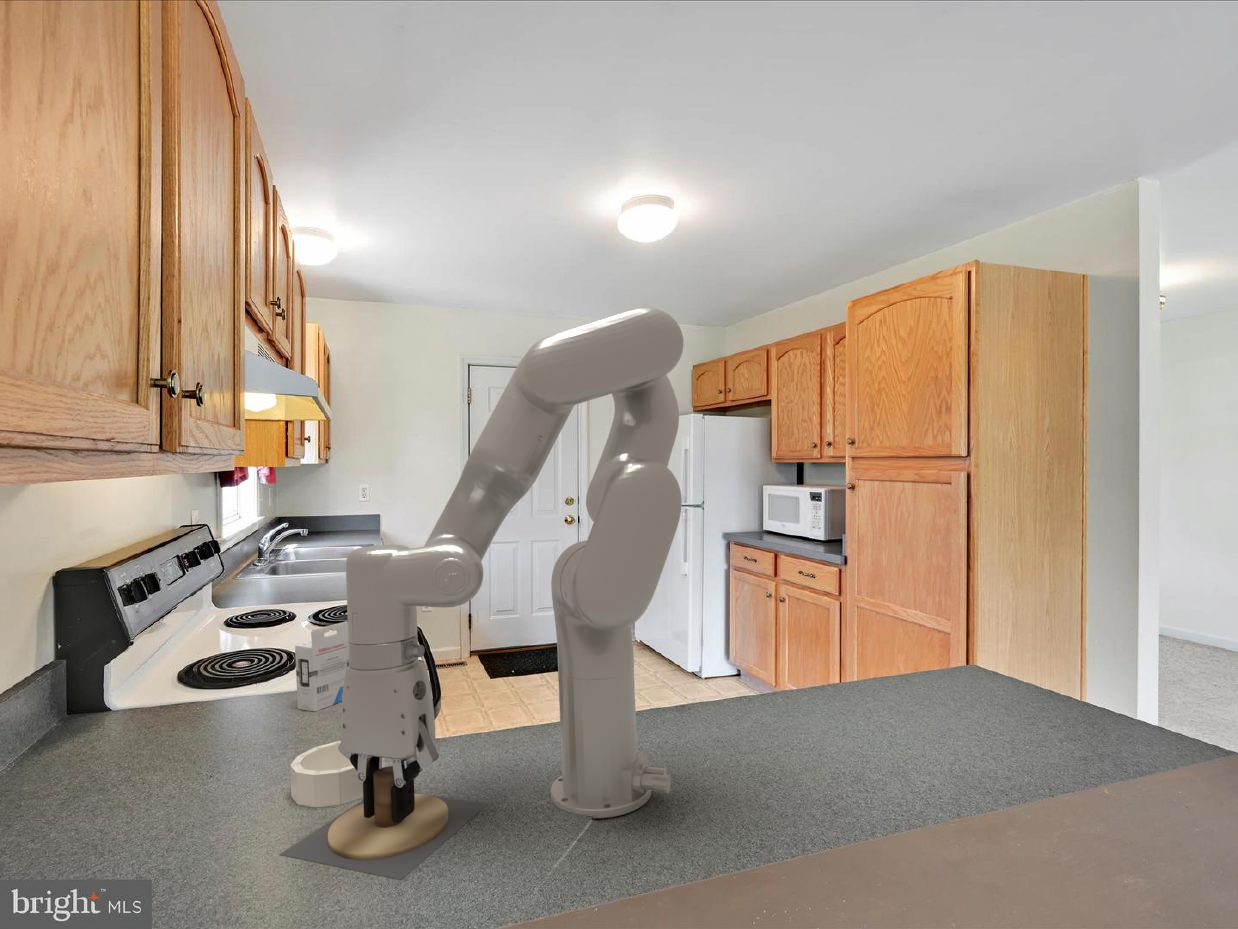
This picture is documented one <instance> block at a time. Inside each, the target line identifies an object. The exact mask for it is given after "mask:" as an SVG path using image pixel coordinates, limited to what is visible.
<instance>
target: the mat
mask: <svg viewBox="0 0 1238 929" xmlns="http://www.w3.org/2000/svg"><path fill="white" fill-rule="evenodd" d="M414 794H420V793H419V792H418V793H417V792H414ZM424 794H425V793H424ZM425 795H427V794H425ZM429 795H430V796H434V797H436V798H439V799H441V800H442V801H443V802H444V803H446V805H447V807H448V815H449V818H448V823H447V825H446V827H445V829H444V830H443V831H442V832H441V833H440V834H439V835H438V836H437V837H435V838H434V839H433V840H431V841H430V842H428V843H427V844H425V845H423V846H421V847H419V848H416V849H414V850H412V851H409V852H406V853H403V854H400V855H396V856H392V857H388V858H382V859H373V860H355V859H348V858H344V857H341V856H339V855H337V854H335V853H334V852H333V851H332V850H331V849H330V848H329V845H328V831H329V828H330V827H331V825H332V824H333V823H334V821H335V820H336V819H338V818H339V817H340V816H341V815H343V814H344V813H346V812H347V811H349V810H351V809H353V808H354V807H356V806H359V805H361V804H363V799H361V800H360V801H359V802H358V803H356V804H354V805H353V806H351V807H350V808H348V809H347V810H345V811H344V812H342V813H340V814H339V815H337V816H336V817H334V818H333V819H331V820H330V821H328V822H327V823H325V824H324V825H322V826H320V827H319V828H318V829H316V830H314V831H312V832H311V833H310V834H308V835H307V836H305V837H304V838H302V839H301V840H299V841H298V842H296V843H294V844H292V845H291V846H290V847H289V848H287V849H285V850H284V851H282V852H281V853H279V854H278V856H283V857H287V858H291V859H296V860H301V861H305V862H311V863H316V864H320V865H324V866H331V867H336V868H339V869H345V870H349V871H355V872H359V873H365V874H369V875H374V876H378V877H382V878H383V877H384V878H388V879H393V880H397V881H398V880H399V881H403V880H404V879H405V878H406V877H407V876H408V875H410V873H412V871H413V872H414V870H415V869H416V868H417V867H418V866H419V865H420V864H421V863H423V862H424V861H425V860H426V859H427V858H428V857H430V856H431V855H432V854H434V852H436V850H438V849H439V848H440V847H441V846H442V845H444V843H445V842H447V841H448V840H449V839H450V838H452V837H453V836H454V835H455V834H456V833H457V832H458V831H459V830H461V829H462V828H463V827H465V825H467V824H468V822H470V821H471V820H472V819H473V818H474V817H475V816H476V815H478V813H480V812H481V811H482V810H483V809H485V808H486V807H487V806H488V805H489V803H485V802H479V801H472V800H465V799H458V798H453V797H452V798H451V797H445V796H437V795H431V794H429Z"/></svg>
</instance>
